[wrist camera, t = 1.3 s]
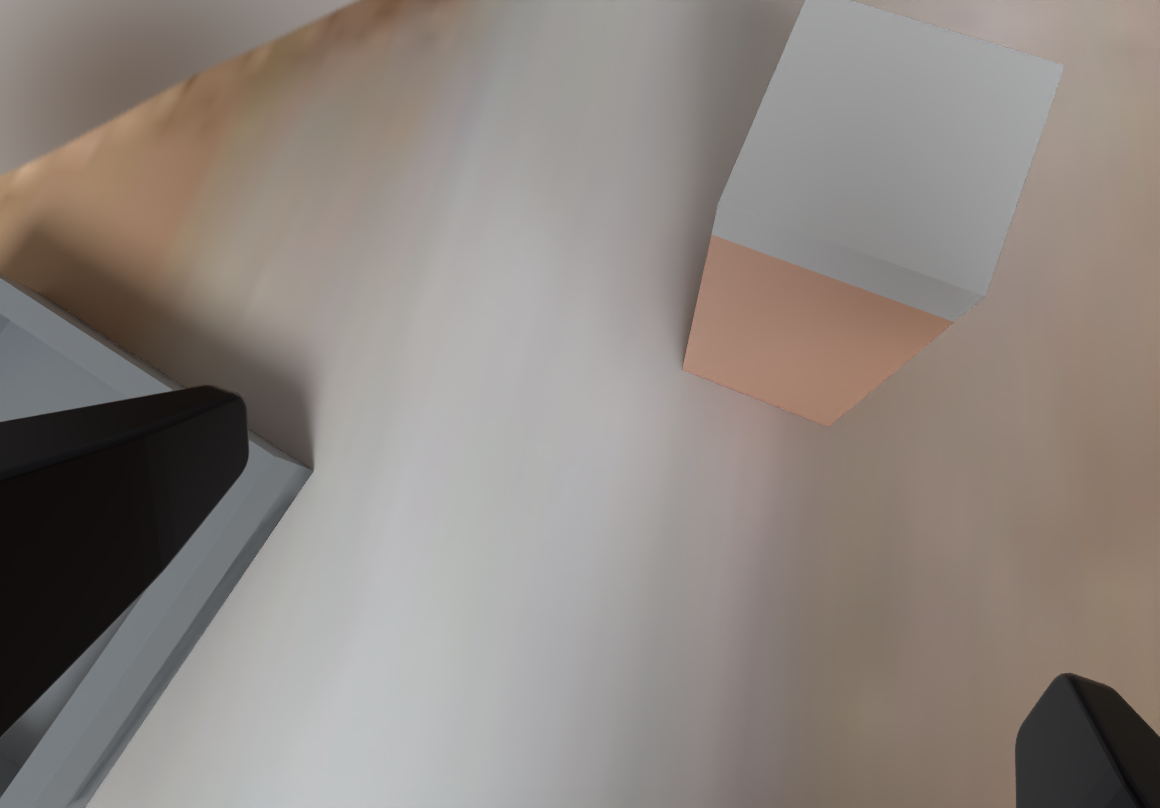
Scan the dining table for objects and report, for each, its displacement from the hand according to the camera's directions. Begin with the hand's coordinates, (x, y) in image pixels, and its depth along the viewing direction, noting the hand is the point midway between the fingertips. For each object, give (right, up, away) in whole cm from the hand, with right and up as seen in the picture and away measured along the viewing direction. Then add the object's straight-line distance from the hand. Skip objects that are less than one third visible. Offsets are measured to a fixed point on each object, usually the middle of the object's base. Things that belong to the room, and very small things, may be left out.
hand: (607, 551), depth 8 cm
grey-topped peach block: (+6, +4, +14) cm, 16 cm away
